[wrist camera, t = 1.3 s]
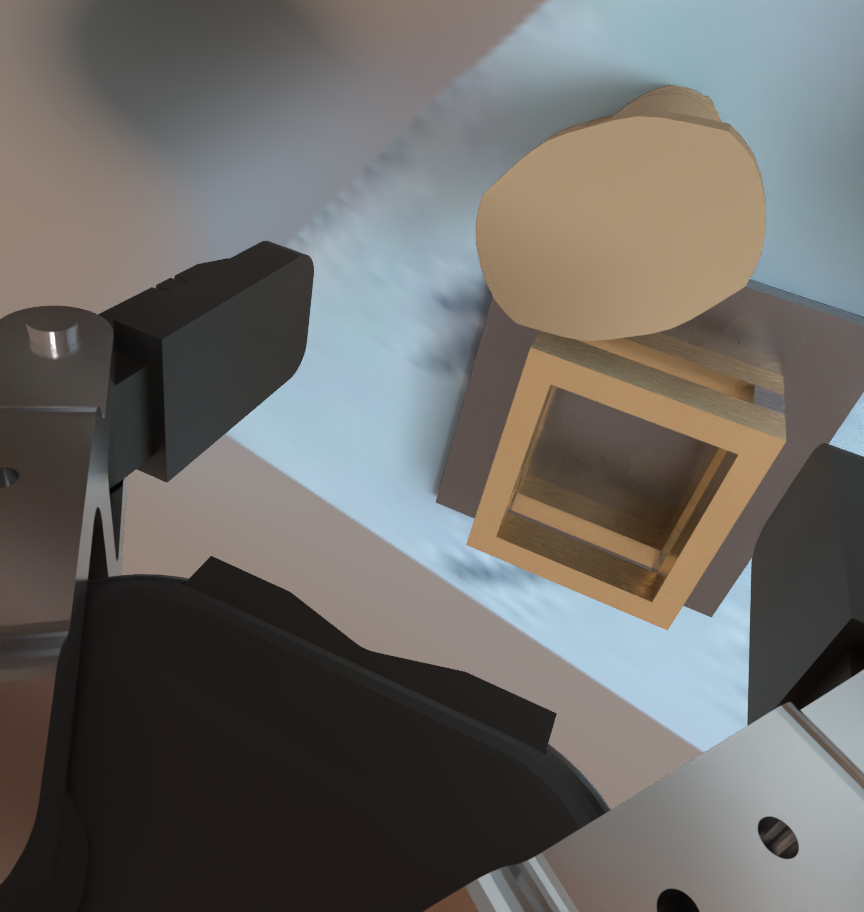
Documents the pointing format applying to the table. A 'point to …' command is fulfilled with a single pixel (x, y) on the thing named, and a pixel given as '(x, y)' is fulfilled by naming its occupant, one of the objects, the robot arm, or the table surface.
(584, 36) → the table surface
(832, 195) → the table surface
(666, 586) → the collar stand
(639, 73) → the table surface
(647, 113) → the handle
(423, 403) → the table surface
